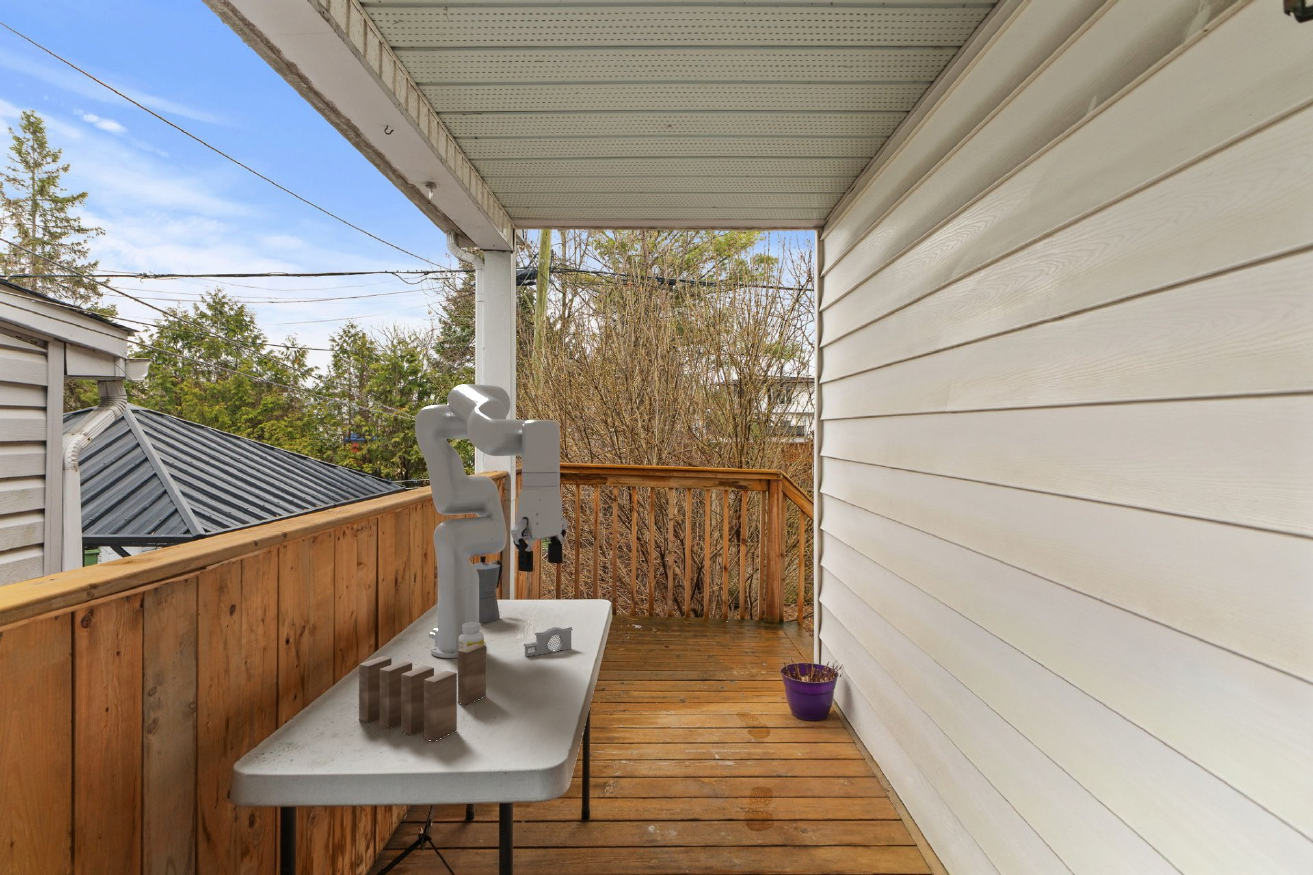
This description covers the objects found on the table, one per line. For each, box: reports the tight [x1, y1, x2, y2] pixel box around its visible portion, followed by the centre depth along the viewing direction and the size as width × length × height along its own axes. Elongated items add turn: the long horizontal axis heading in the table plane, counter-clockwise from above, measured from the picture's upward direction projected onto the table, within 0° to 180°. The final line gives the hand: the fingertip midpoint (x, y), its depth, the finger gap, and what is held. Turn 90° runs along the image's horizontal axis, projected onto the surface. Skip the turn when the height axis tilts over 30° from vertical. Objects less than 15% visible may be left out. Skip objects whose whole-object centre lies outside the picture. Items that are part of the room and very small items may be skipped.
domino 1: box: [358, 655, 393, 723], centre depth 118 cm, size 2×5×10 cm, turn 152°
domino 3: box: [400, 665, 435, 736], centre depth 113 cm, size 2×5×10 cm, turn 151°
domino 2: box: [379, 660, 413, 730], centre depth 115 cm, size 2×5×10 cm, turn 151°
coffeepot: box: [472, 555, 503, 624], centre depth 185 cm, size 15×9×18 cm, turn 159°
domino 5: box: [457, 644, 487, 706], centre depth 126 cm, size 2×5×10 cm, turn 151°
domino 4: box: [423, 670, 458, 743], centre depth 110 cm, size 2×5×10 cm, turn 151°
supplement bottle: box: [459, 622, 485, 650], centre depth 143 cm, size 5×5×10 cm
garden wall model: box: [523, 626, 574, 657], centre depth 154 cm, size 12×2×6 cm, turn 123°
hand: (541, 567), depth 130 cm, fingers open, 9 cm apart
